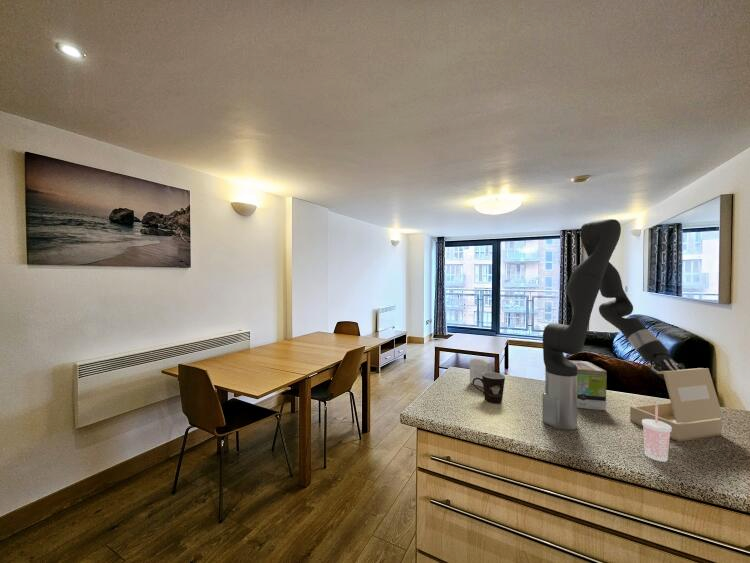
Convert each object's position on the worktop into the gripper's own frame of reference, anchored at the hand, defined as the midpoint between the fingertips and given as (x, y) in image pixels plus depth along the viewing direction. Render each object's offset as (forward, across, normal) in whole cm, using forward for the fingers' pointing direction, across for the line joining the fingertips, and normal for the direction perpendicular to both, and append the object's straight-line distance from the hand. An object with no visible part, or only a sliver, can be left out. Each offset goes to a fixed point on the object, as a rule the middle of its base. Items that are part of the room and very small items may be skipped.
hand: (688, 392), depth 99 cm
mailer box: (+6, 0, +12) cm, 13 cm away
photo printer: (-29, -39, +48) cm, 68 cm away
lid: (0, 0, +1) cm, 1 cm away
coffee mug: (-18, -45, +36) cm, 61 cm away
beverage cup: (+14, -24, +4) cm, 28 cm away
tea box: (-11, -10, +29) cm, 33 cm away
